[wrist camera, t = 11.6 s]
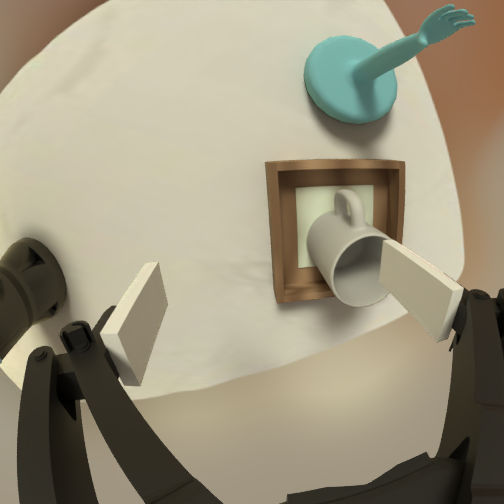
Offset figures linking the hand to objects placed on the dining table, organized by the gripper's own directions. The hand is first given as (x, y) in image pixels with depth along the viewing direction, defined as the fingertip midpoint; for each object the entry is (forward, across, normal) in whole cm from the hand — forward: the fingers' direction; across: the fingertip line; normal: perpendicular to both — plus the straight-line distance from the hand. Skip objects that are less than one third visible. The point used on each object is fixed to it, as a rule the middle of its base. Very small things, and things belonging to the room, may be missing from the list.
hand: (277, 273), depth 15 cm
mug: (+20, +11, -4) cm, 23 cm away
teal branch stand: (+22, +14, +16) cm, 31 cm away
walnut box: (+21, +11, -4) cm, 24 cm away
